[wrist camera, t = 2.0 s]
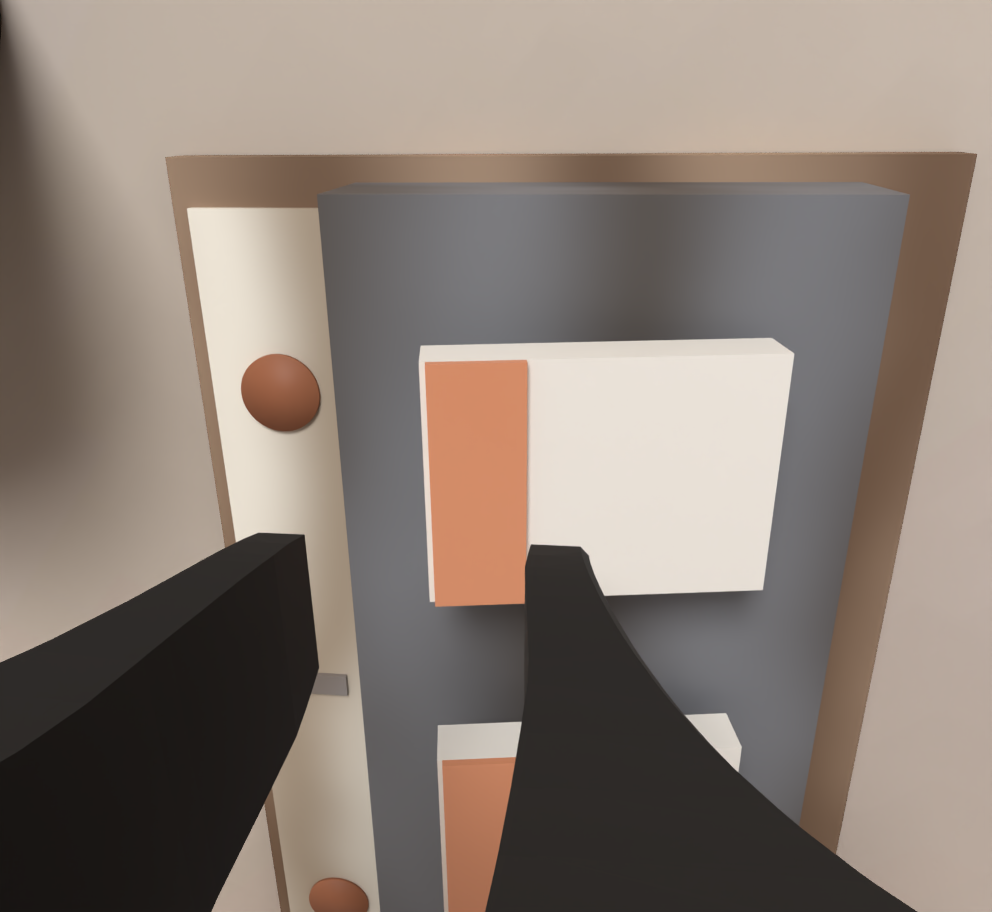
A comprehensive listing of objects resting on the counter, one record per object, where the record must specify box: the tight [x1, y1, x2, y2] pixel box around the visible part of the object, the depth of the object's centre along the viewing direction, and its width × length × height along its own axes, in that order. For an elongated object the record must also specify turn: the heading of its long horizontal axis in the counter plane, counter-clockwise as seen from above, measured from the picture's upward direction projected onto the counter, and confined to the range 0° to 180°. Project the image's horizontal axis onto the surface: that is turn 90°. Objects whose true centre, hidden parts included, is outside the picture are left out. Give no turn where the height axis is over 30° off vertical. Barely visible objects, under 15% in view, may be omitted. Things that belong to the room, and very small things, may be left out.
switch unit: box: [165, 152, 977, 912], centre depth 21 cm, size 16×26×3 cm, turn 1°
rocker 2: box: [437, 713, 742, 912], centre depth 18 cm, size 6×4×2 cm
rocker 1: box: [419, 338, 794, 607], centre depth 15 cm, size 6×4×2 cm
